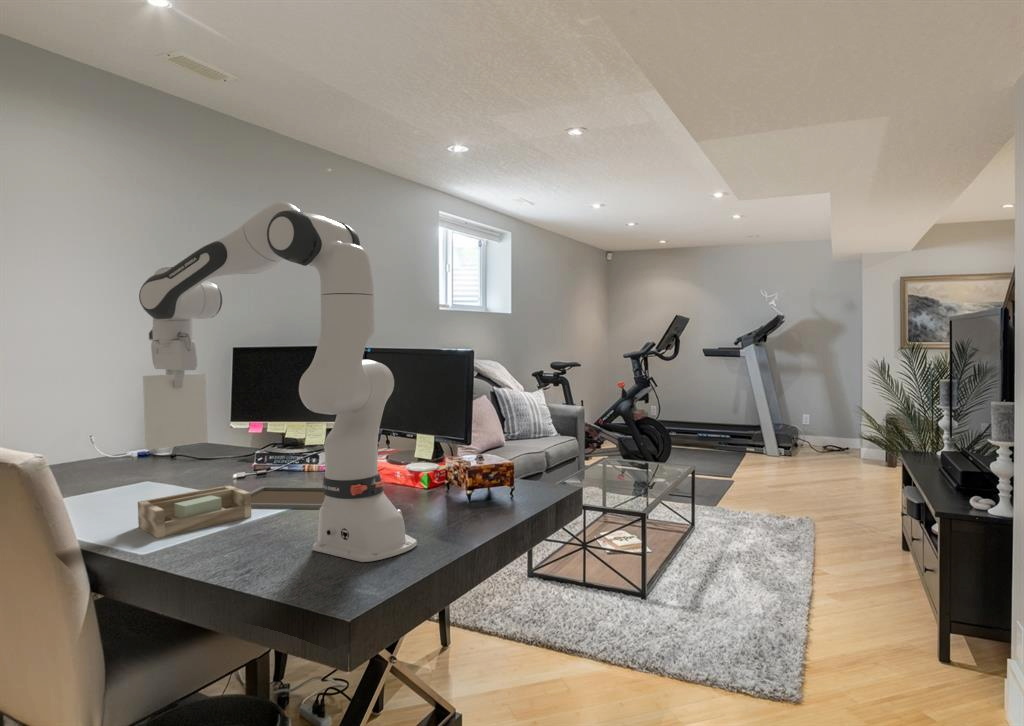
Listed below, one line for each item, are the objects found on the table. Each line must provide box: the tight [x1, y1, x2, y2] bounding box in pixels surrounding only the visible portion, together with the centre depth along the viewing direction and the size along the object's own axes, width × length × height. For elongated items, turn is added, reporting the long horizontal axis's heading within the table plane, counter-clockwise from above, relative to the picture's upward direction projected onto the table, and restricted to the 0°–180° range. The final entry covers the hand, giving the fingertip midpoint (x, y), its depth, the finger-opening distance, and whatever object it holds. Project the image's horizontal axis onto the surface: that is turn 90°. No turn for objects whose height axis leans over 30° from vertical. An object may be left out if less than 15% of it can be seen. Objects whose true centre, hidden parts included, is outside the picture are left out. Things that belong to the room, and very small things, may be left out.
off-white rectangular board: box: [142, 372, 209, 451], centre depth 154 cm, size 2×14×18 cm, turn 138°
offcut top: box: [174, 495, 222, 518], centre depth 147 cm, size 4×9×3 cm, turn 147°
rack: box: [137, 484, 252, 539], centre depth 148 cm, size 13×21×6 cm, turn 138°
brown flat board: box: [249, 485, 325, 510], centre depth 169 cm, size 19×2×30 cm
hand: (175, 387), depth 154 cm, fingers closed on off-white rectangular board, 2 cm apart
